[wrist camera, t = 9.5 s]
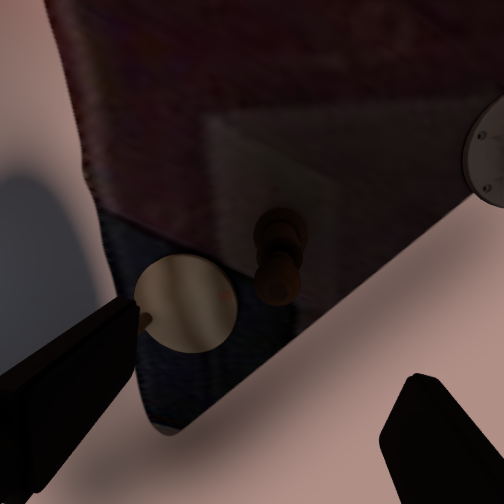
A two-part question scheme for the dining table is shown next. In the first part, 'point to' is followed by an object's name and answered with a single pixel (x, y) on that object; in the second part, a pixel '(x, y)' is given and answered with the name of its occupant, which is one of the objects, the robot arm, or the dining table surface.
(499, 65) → the dining table surface
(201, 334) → the disc
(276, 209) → the wooden pepper mill
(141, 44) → the dining table surface
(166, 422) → the dining table surface
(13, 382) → the robot arm
